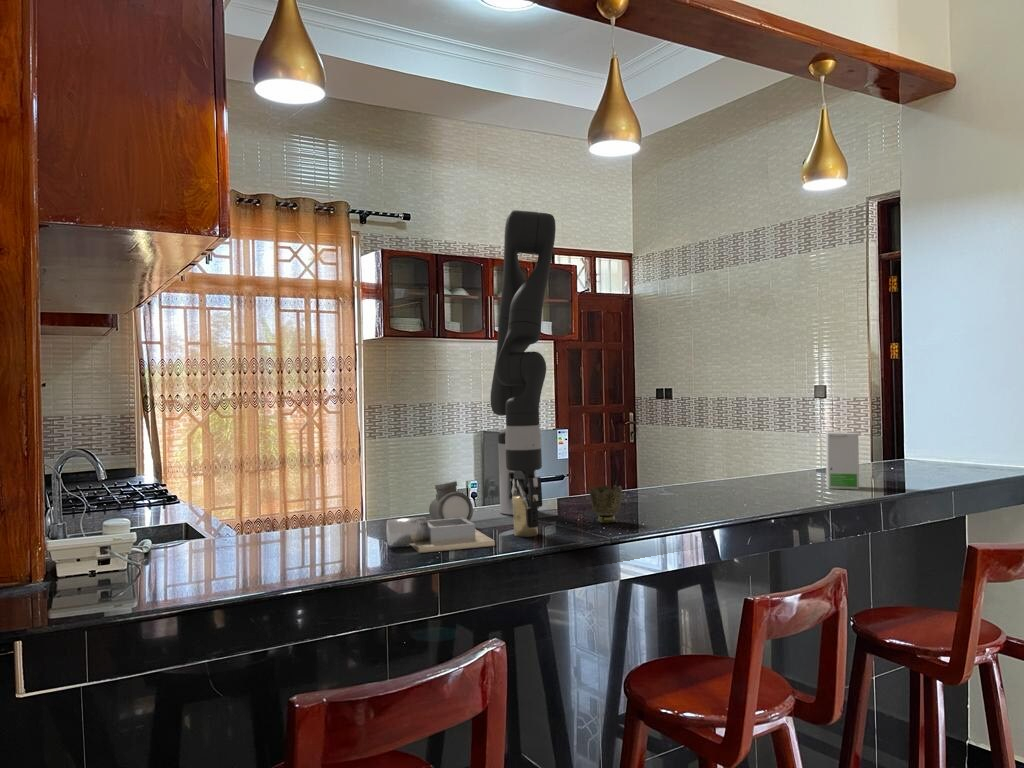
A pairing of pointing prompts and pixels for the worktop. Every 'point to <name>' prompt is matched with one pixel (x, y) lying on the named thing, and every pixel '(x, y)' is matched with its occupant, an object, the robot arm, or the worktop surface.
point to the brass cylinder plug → (521, 518)
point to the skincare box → (842, 460)
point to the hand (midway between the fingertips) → (525, 524)
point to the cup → (606, 502)
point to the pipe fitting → (450, 503)
